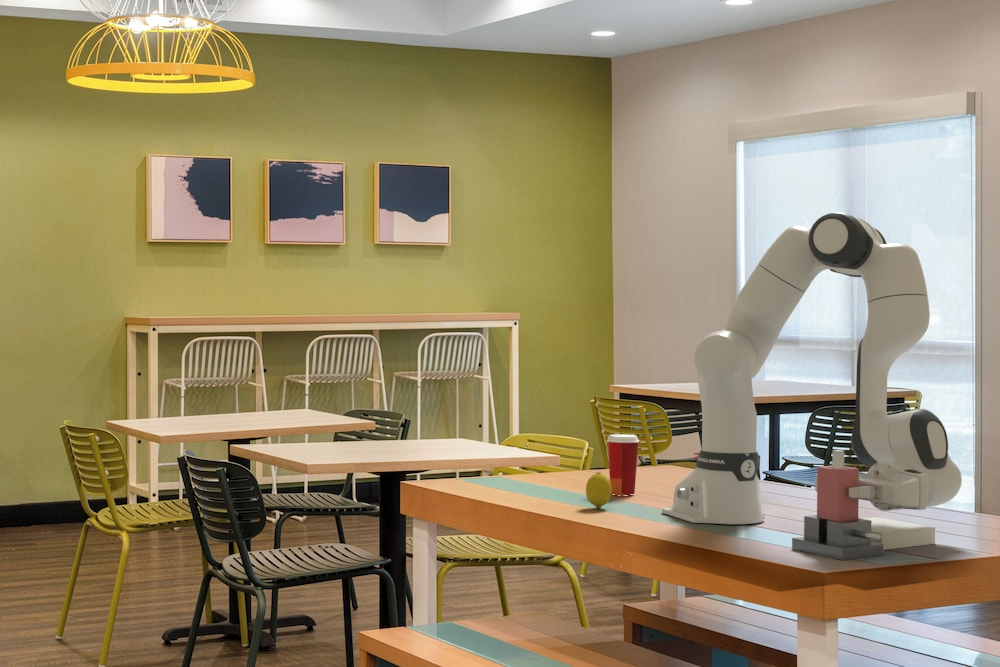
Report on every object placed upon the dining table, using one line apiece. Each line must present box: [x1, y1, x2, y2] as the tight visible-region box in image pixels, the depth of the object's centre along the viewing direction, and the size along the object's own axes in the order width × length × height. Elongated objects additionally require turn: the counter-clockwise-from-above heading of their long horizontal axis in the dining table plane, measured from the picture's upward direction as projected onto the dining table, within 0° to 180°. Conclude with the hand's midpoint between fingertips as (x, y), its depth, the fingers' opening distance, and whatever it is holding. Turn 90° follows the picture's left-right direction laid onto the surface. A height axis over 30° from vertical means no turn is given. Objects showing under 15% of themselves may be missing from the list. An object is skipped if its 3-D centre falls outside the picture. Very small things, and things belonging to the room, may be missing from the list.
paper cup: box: [606, 433, 640, 495], centre depth 290 cm, size 8×8×14 cm
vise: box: [791, 449, 884, 561], centre depth 216 cm, size 16×10×18 cm, turn 30°
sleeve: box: [816, 465, 860, 521], centre depth 218 cm, size 5×5×9 cm
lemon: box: [585, 471, 612, 510], centre depth 267 cm, size 6×6×8 cm
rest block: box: [861, 516, 936, 551], centre depth 230 cm, size 14×14×3 cm
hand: (834, 490), depth 217 cm, fingers closed on sleeve, 5 cm apart
